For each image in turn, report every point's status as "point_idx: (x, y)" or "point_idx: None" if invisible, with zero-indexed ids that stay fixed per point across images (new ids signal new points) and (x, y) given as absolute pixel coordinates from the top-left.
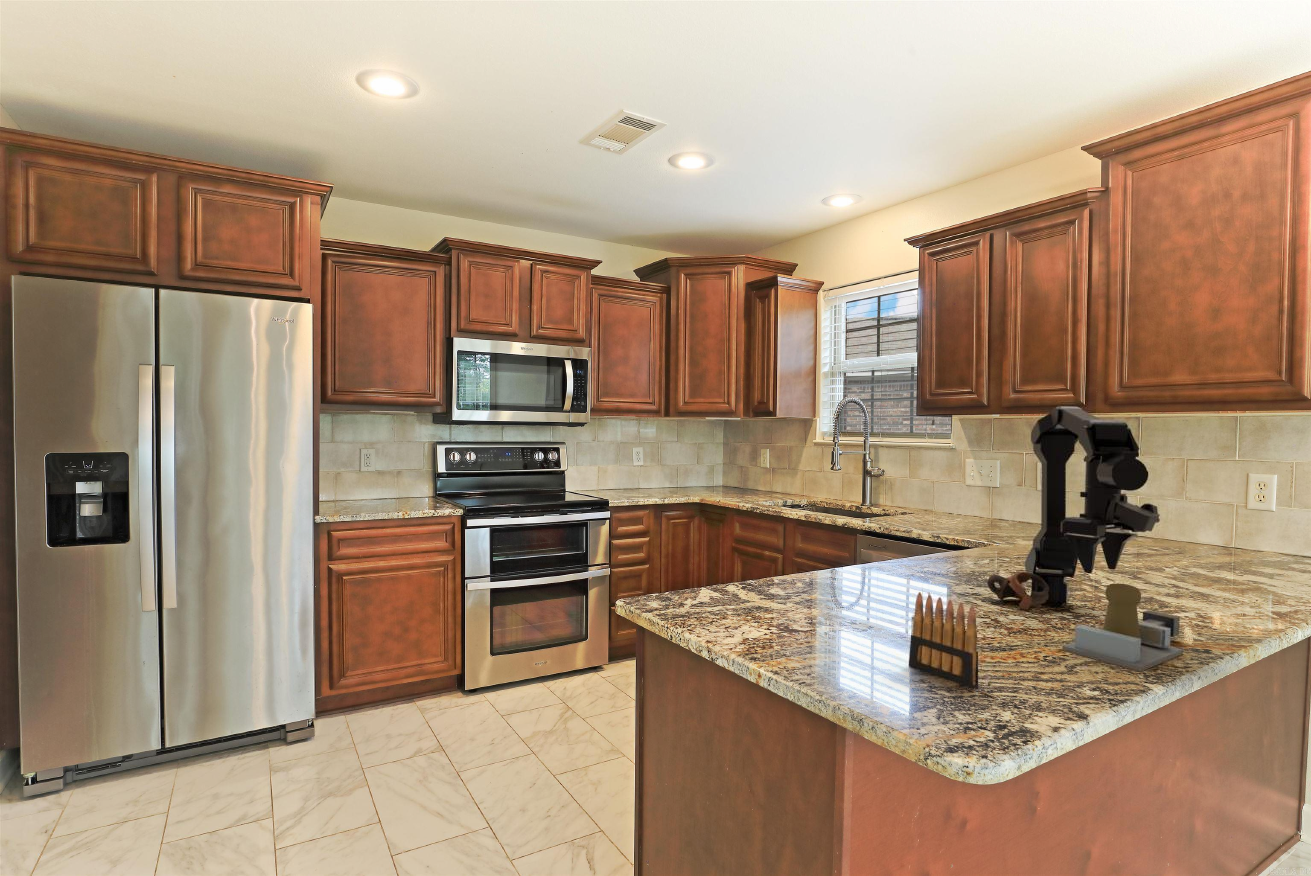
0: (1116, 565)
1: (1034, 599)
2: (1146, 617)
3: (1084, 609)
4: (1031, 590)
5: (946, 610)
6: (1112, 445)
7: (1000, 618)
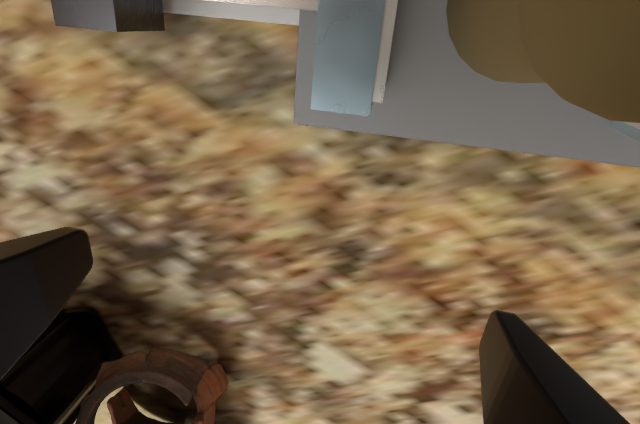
0: (40, 236)
1: (193, 375)
2: (130, 13)
3: None
4: None
5: None
6: None
7: (388, 388)
